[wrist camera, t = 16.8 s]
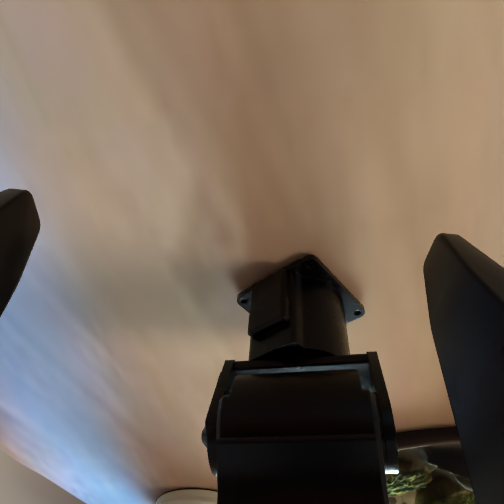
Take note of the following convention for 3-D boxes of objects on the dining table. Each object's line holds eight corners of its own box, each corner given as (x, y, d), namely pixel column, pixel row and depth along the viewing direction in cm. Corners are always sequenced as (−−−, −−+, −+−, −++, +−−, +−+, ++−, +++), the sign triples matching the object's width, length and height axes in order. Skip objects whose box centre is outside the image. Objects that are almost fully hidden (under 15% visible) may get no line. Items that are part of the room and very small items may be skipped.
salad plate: (532, 501, 48) (551, 549, 44) (372, 511, 53) (378, 555, 49) (542, 415, 37) (569, 470, 33) (337, 437, 41) (342, 487, 38)
